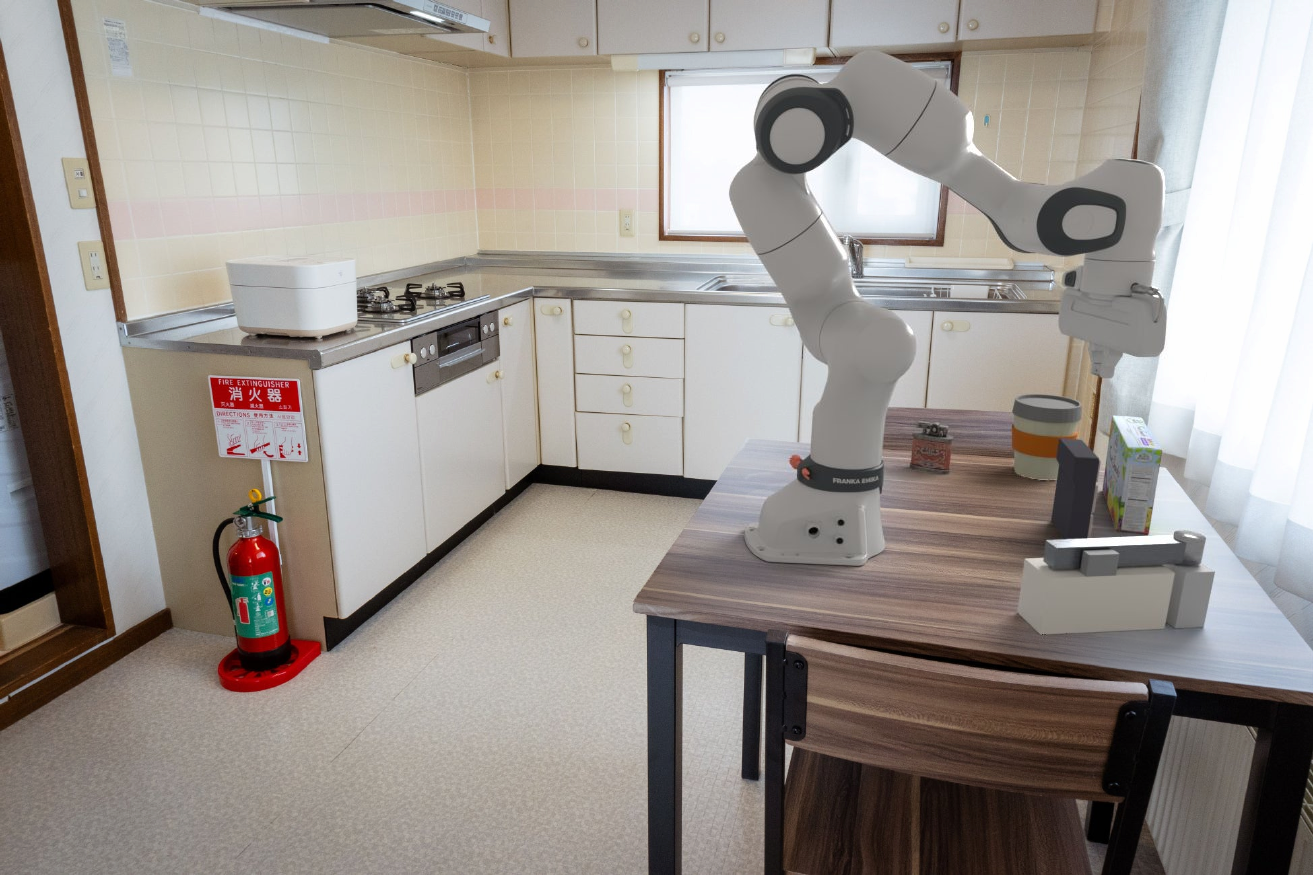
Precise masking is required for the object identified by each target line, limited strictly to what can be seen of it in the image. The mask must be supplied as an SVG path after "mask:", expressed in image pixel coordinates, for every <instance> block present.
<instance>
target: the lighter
mask: <svg viewBox="0 0 1313 875" xmlns="http://www.w3.org/2000/svg"><path fill="white" fill-rule="evenodd" d="M916 429H922V431H921V430H916V431H913V432H912V435H911V436H912V444H911V445H912V446H911V456H910V457H911V458H910V462H909V469H911V470H915V471H919V472H923V473H929V474H935V475H945V476H946V475H950V473H951V468H950V466H951V457H952V448H953V443H954V438H955V437H954V436H952V435H948V432H949V426H948V425H943V424H941V423H940V422H938V421H935V422H933V423H930V422H929V421H921V420H919V421H917V422H916ZM928 430H929V431H928Z"/></svg>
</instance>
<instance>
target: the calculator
mask: <svg viewBox="0 0 1313 875" xmlns="http://www.w3.org/2000/svg"><path fill="white" fill-rule="evenodd" d="M1056 460H1057V461H1058V463H1059V469H1058V476H1057V480H1056V483H1055V484H1056V486H1055V491H1054V497H1053V504H1052V513H1051V519H1050V520H1051V523H1052V524H1053V525H1054V527H1055V529H1056V531H1057V532H1058V534H1059V535H1060V538H1061V540H1062V539H1087V538H1091V536H1092V530H1093V529H1092V528H1093V522H1094V515H1093V513H1094V514H1095V512H1096V511H1095V510H1096V505H1097V504H1096V503H1097V496H1098V493H1099V492H1098V491H1099V485H1098V482H1099V476H1100V470H1101V469H1100V468H1101V464H1102V461H1101V459H1100V458H1099V457H1098V456H1097V455H1096V454H1095V452H1094V451H1093V450H1092V449H1091V448H1090V447H1089V445H1087V444H1086V442H1084V441H1083V440H1082V439H1078V438H1076V439H1061V438H1060V439H1059V442H1058V449H1057V456H1056Z"/></svg>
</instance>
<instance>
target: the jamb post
mask: <svg viewBox="0 0 1313 875" xmlns="http://www.w3.org/2000/svg"><path fill="white" fill-rule="evenodd" d="M1163 566H1165V567H1166V568H1168V569H1169V570H1171V571H1172V572H1174V573H1175V576H1174V581H1173V586H1172V591H1171V597H1170V602H1169V607H1168V612H1167V618H1166V623H1167V624H1168V625H1170V626H1171V627H1172V628H1174V629H1187V628H1188V629H1193V628H1204V627H1205V623H1206V622H1205V621H1206V618H1207V614H1208V612H1207V611H1208V608H1209V604H1210V597H1211V595H1212V594H1211V593H1212V588H1213V583H1214V578H1215V575H1216V571H1215V570H1213V569H1211V567H1208V566H1207V565H1205V564H1203V563H1202V562H1201V564H1199V565H1185V564H1169V565H1163Z"/></svg>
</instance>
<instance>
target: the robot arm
mask: <svg viewBox="0 0 1313 875" xmlns="http://www.w3.org/2000/svg"><path fill="white" fill-rule="evenodd" d="M974 129H975V124H974V117H973V113H972V111H971V110H970V109H969V108H968V106H967V105H966V104H965V103H964V101H962V100H961V99H960V98H959V96H957V95H956V94H955V93H953V92H952V91H951V89H949V88H947V86H945V85H943V84H942V83H940V82H939V81H938V80H936V79H935V78H933V77H931V76H930V75H929V74H927V73H925V72H924V71H922V70H920V69H919V68H916V67H915V66H913V65H911V64H909V63H908V62H905V61H903V60H902V59H899V58H897V57H895V56H893V55H890V54H887V53H885V52H883V51H881V50H877V49H865V50H863V51H860V52H859V53H856V54H855V55H853V56H852V57H851V58H849V59H848V61H847V62H845V64H844V65H843V66H842V67H841V68H840V69H839V71H838V72H837V75H836V76H835V77H834V78H833V79H831V80H830V81H828V82H824V83H820V82H819V81H818V80H816V79H814V78H813V77H811V76H809V75H805V74H796V73H795V74H794V73H793V74H786V75H784V76H781V77H778V78H777V79H775V80H773V81H772V82H771V83H770V84H768V85H767V87H765V89H764V90H763V92H762V93H761V94H760V97H759V98H758V101H757V104H756V108H755V112H754V115H753V133H754V137H755V138H754V139H755V144H756V145H755V149H756V152H757V153H756V155H755V156H754V157H753V159H752V160H750V161H749V162H748V163H746V164H744V166H743V167H741V169H739V171H738V172H737V173H736V174H735V176H734V177H733V179H732V181H730V182H731V183H730V186H729V191H728V197H729V200H730V203H731V206H732V209H733V211H734V212H733V213H734V214H735V216H736V219H737V222H738V224H739V225H740V228H741V229H742V231H743V234H744V235H745V237H746V239H747V241H748V243H749V244H750V245H751V248H752V250H754V253H755V254H756V256H757V257H758V259H759V260H760V262H761V263H762V265H763V267H764V268H765V270H766V271H767V273H768V274H769V276H770V278H771V279H772V281H773V282H774V285H775V286H776V288H777V289H778V290H779V292H780V293H781V296H782V298H783V299H784V301H785V304H786V305H787V308H788V310H789V312H790V315H791V318H792V320H793V322H794V324H795V326H796V328H797V330H798V333H799V337H800V340H801V341H802V343H803V346H804V347H805V348H806V349H807V351H808V352H809V353H810V355H811V356H812V357H814V359H815V360H817V361H818V362H821V363H823V364H824V365H826V366H827V369H828V370H827V379H826V382H825V385H824V389H823V392H822V395H821V398H820V399H819V401H818V402H817V403H816V404H815V405H814V407H813V410H812V418H811V419H812V420H811V421H812V422H811V433H810V434H811V436H810V439H811V440H810V452H809V455H808V456H806V457H805V458H804V459H802V458H801V456H800V455H798V454H792V455H791V456H790V457H789V459H788V462H789V464H790V465H791V468H793V470H796V478H794V480H793V481H791V482H790V483H788V484H787V485H785V486H783V487H782V488H781V489H779V490H778V491H775V492H774V493H773V494H771V495H770V496H768V497H767V498H766V499H765V500H764V501H763V504H762V507H761V509H760V512H759V518H758V521H757V522H752V523H749V524H748V525H747V526H746V527H745V530H744V541H745V545H746V546H747V547H748V549H749V550H750V552H751V553H753V555H755V556H756V557H757V558H759V559H761V560H763V561H765V562H768V563H769V562H770V563H787V564H788V563H789V564H790V563H792V564H811V565H812V564H813V565H833V566H834V565H836V566H855V567H856V566H858V567H859V566H863V565H865V564H866V563H867V562H868V560H869V559H870V558H872V557H875V556H876V555H879V554H880V553H882V552H883V551H884V550H885V548H886V540H885V537H884V533H883V525H882V517H881V495H882V493H883V492H882V491H883V486H884V479H885V467H884V466H885V463H884V460H883V448H884V447H883V446H884V436H885V426H886V419H887V418H886V417H887V413H888V409H889V405H890V402H891V399H892V396H893V393H894V391H895V387H896V385H897V383H898V381H899V379H900V378H901V377H903V376H904V375H905V374H906V373H907V372H908V370H909V369H910V368H911V366H912V364H913V363H914V360H915V358H916V353H917V340H916V336H915V334H914V331H913V330H912V328H911V327H910V325H909V324H907V323H906V322H905V321H904V320H903V319H902V318H901V317H900V316H898V314H896V313H895V312H893V311H892V310H890V309H888V308H884V307H881V306H878V305H875V304H872V303H869V301H867V300H866V299H865V298H864V297H863V296H862V295H861V294H860V293H859V291H858V289H857V287H856V285H855V282H854V278H853V276H852V273H851V270H850V266H849V265H850V264H849V262H850V257H849V253H848V252H847V250H846V248H845V246H844V245H843V242H842V241H841V240H840V238H839V236H838V235H837V232H836V231H835V230H834V228H833V226H832V224H831V222H830V221H829V219H828V218H827V216H826V214H825V213H824V210H823V209H822V208H821V206H820V204H819V202H818V201H817V200H816V199H817V198H815V196H814V195H813V192H812V190H811V189H810V186H809V184H808V181H807V173H809V172H810V171H811V172H812V171H813V170H815V169H817V168H818V167H819V166H821V165H823V164H824V163H825V162H826V161H827V160H829V159H830V158H831V157H832V156H833V155H834V154H835V153H837V151H839V150H840V149H842V147H844V146H845V145H846V144H847V143H848V142H849V141H851V139H856V140H858V141H860V142H862V143H864V144H866V145H867V146H869V147H870V148H872V149H873V150H875V151H876V152H878V153H879V154H881V155H882V156H884V157H885V158H887V159H889V160H890V161H892V162H893V163H895V164H896V165H898V166H900V167H902V168H904V169H906V170H908V171H909V172H913V173H915V174H917V175H920V176H922V177H924V178H927V179H930V181H931V180H932V181H934V182H936V183H938V184H941V185H943V186H944V187H946V188H947V189H949V190H950V191H951V192H952V193H954V194H956V195H957V196H958V197H960V198H961V199H962V200H964V201H966V203H968V204H969V205H971V206H972V207H974V208H975V209H977V211H979V212H980V213H982V214H983V215H984V216H985V217H986V218H987V219H988V220H989V222H990V223H991V225H992V227H993V229H994V230H995V232H996V234H997V235H998V237H999V239H1000V240H1001V241H1002V243H1004V245H1005V246H1006V247H1008V249H1011V250H1012V251H1013V252H1014V251H1015V252H1017V253H1021V254H1038V255H1046V256H1051V257H1059V258H1068V257H1074V256H1078V255H1083V254H1084V257H1083V258H1084V259H1083V264H1082V265H1079V266H1077V267H1074V268H1071V269H1069V270H1067V271H1065V272H1063V274H1062V277H1061V285H1062V286H1063V287H1064V290H1063V291H1062V293H1061V297H1060V302H1059V312H1058V320H1057V322H1058V324H1057V326H1058V328H1059V331H1060V334H1061V335H1064V336H1067V337H1070V338H1073V339H1076V340H1081V341H1083V342H1086V343H1088V355H1089V359H1090V362H1091V365H1090V370H1089V371H1090V374H1091V375H1094V376H1096V377H1099V378H1102V379H1112V378H1114V376H1115V369H1116V368H1115V367H1116V366H1117V365H1118V364H1119V362H1120V360H1121V359H1122V357H1123V355H1124V354H1126V355H1130V356H1132V357H1135V358H1157V357H1159V356H1160V355H1161V354H1162V352H1163V351H1164V349H1165V344H1166V335H1167V320H1168V319H1167V318H1168V315H1167V314H1168V313H1167V307H1166V304H1165V297H1163V295H1162V293H1161V292H1160V289H1159V288H1158V287H1155V286H1152V283H1153V276H1154V270H1155V264H1156V259H1157V258H1156V257H1157V256H1156V250H1155V244H1156V239H1157V236H1158V234H1159V232H1160V230H1161V227H1162V222H1163V215H1164V206H1165V195H1166V192H1165V191H1166V186H1165V185H1166V183H1165V175H1164V172H1163V170H1162V169H1161V168H1160V167H1159V165H1156V164H1155V163H1152V162H1148V161H1146V160H1145V161H1144V160H1140V159H1133V158H1132V159H1130V158H1124V157H1123V158H1118V157H1117V158H1116V157H1115V158H1110V159H1106V160H1105V161H1103V162H1102V164H1101V165H1100V166H1098V167H1097V168H1094V169H1093V170H1092V171H1090V172H1088V173H1086V174H1083V175H1082V176H1079V177H1077V178H1075V179H1072V180H1069V181H1066V182H1064V183H1063V184H1046V183H1045V184H1044V183H1035V182H1026V181H1021V180H1019V179H1017V178H1016V177H1014V176H1013V175H1011V174H1010V173H1008V172H1007V171H1005V169H1003V168H1002V167H1001V166H999V165H998V164H996V163H995V162H994V161H992V160H991V159H990V158H988V157H987V156H985V155H984V154H983V153H982V152H981V151H980V150H978V148H977V147H976V145H975V144H974V142H973V137H974V131H975V130H974Z"/></svg>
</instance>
